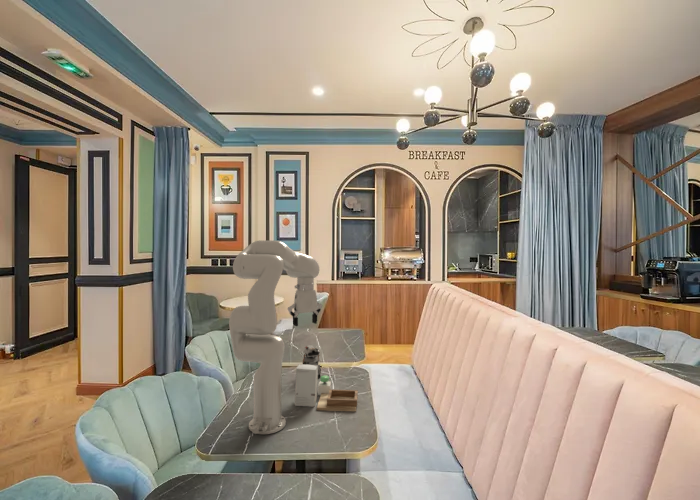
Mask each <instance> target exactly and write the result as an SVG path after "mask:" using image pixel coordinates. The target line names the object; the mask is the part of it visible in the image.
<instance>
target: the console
mask: <svg viewBox="0 0 700 500" xmlns="http://www.w3.org/2000/svg"><path fill="white" fill-rule="evenodd" d="M330 389H332V381H330V380H329V381H328V382H326V384H323V382H321V380H320V381H318V384H317V396H321V393H326V394H329V390H330Z"/></svg>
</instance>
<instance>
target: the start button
mask: <svg viewBox="0 0 700 500" xmlns="http://www.w3.org/2000/svg"><path fill="white" fill-rule="evenodd" d="M320 381H321V382H323V384H326V382H328V381H330V376H329V375H320Z"/></svg>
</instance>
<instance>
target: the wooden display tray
mask: <svg viewBox="0 0 700 500" xmlns="http://www.w3.org/2000/svg"><path fill="white" fill-rule="evenodd" d="M358 391H359V390H358V389H335V388H334V389H333V388H331V389H330V390H329V394H326V393H321V395H319V400H318V401H317V402H318V403H317V406H316V411H328V412H329V411H330V412H357V407H358V396H359V393H358Z"/></svg>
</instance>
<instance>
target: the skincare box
mask: <svg viewBox="0 0 700 500" xmlns="http://www.w3.org/2000/svg"><path fill="white" fill-rule="evenodd" d="M318 365H319V364H318ZM318 365H304V364H303V363H302V364H300V363H299V364H298V365H297V366H296V367H295V368H296V369H295V383H294V384H295V387H294V388H295V391H294V407H310V408H311V407H312V408H314V407H315V406H316V403H317V402H318V401H317V398H318V397H317V396H318V380H319V379H318V378H319V377H318Z"/></svg>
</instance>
